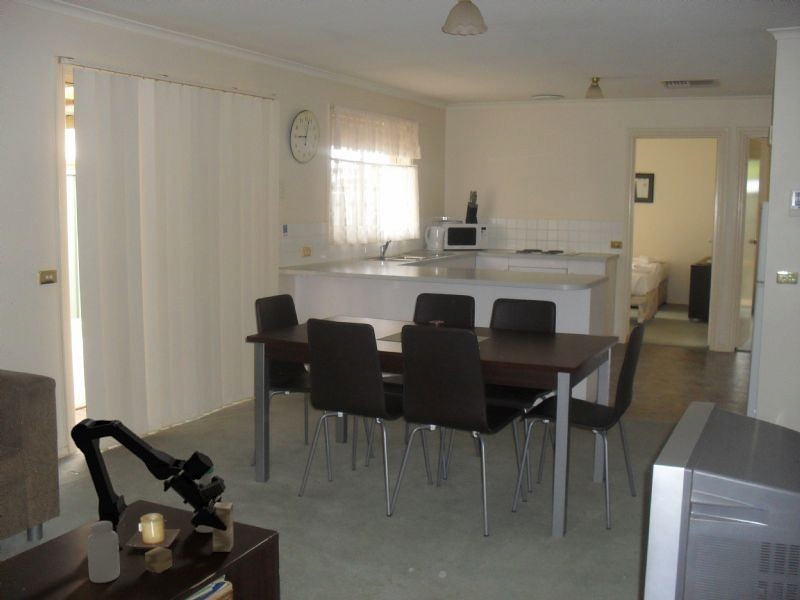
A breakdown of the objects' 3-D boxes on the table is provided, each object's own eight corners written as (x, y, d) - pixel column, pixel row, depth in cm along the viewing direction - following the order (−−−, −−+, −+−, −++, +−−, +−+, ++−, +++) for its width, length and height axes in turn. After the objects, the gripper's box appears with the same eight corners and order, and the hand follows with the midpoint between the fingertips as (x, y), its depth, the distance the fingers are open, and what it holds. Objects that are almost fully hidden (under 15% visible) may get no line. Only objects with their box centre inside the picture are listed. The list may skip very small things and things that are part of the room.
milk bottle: (223, 524, 255) (221, 463, 252) (215, 534, 247) (213, 471, 245) (199, 523, 256) (198, 462, 253) (191, 532, 248) (189, 470, 246)
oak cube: (145, 570, 223) (145, 553, 222) (159, 563, 227) (158, 546, 227) (159, 574, 220) (158, 556, 220) (172, 567, 225) (171, 550, 224)
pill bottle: (95, 570, 223) (93, 518, 221) (124, 570, 222) (122, 518, 221) (83, 583, 215) (81, 530, 213) (113, 584, 214) (111, 530, 213)
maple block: (213, 551, 234) (212, 508, 233) (216, 544, 239) (216, 502, 238) (230, 551, 234) (229, 508, 233) (233, 544, 239) (233, 502, 238)
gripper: (201, 482, 225) (241, 519, 226) (214, 461, 243) (251, 495, 245) (173, 509, 225) (214, 546, 227) (189, 486, 244) (226, 520, 246)
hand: (227, 526), depth 236 cm, fingers closed on maple block, 5 cm apart
